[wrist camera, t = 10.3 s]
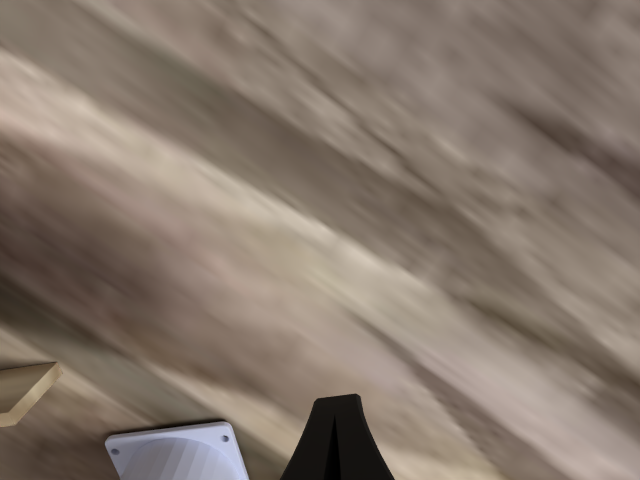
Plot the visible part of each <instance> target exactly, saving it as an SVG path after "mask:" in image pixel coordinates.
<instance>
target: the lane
mask: <svg viewBox="0 0 640 480" xmlns="http://www.w3.org/2000/svg"><path fill="white" fill-rule="evenodd" d="M61 375H62V371H61V369H60V367H59V365H58V363H57V362H55V363H48V364H41V365H34V366H27V367H20V368H13V369H6V370H0V427H4V426H12V425H16V424H17V423H18V421H19V420H20V419H21V418H22V417H23V416H24V415H25V414H26V413H27V412H28V411H29V409H30V408H31V407H32V406H33V405H34V404H35V403H36V402H37V401H38V400H39V399H40V397H41V396H42V395H43V394H44V393H45V392H46V391H47V390H48V389H49V388H50V387H51V385H52V384H53V383H54V382H55V381H56V380H57V379H58V378H59V377H60V376H61Z"/></svg>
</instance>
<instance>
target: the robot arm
mask: <svg viewBox="0 0 640 480" xmlns="http://www.w3.org/2000/svg"><path fill="white" fill-rule="evenodd" d="M223 435H225V436H228V437H224V436H223ZM105 447H106V449H107V451H108V453H109V455H110V457H111V460H112V462H113V464H114V466H115V468H116V470H117V472H118V474H119V477H120V480H249V478H248V475H247V472H246V468H245V465H244V462H243V459H242V456H241V453H240V450H239V447H238V444H237V441H236V438H235V435H234V432H233V429H232V426H231V425H230V424H229V423H227V422H214V423H206V424H198V425H190V426H182V427H174V428H166V429H158V430H150V431H142V432H134V433H126V434H118V435H111V436H109V437H108V438H107V440H106V441H105ZM280 480H395V479H394V477H393V476H392V474H391V472H390V470H389V469H388V467H387V465H386V463H385V461H384V459H383V458H382V456H381V454H380V452H379V450H378V448H377V445H376V443H375V441H374V439H373V437H372V435H371V432H370V430H369V427H368V425H367V422H366V419H365V416H364V413H363V408H362V402H361V397H360V396H359V395H358V394H349V395H341V396H333V397H326V398H318V399H316V401H315V402H314V405H313V408H312V411H311V414H310V416H309V419H308V422H307V424H306V427H305V429H304V431H303V434H302V436H301V438H300V440H299V443H298V445H297V447H296V449H295V451H294V454H293V456H292V458H291V460H290V462H289V463H288V465H287V467H286V469H285V471H284V473H283V475H282V477H281V478H280Z"/></svg>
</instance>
